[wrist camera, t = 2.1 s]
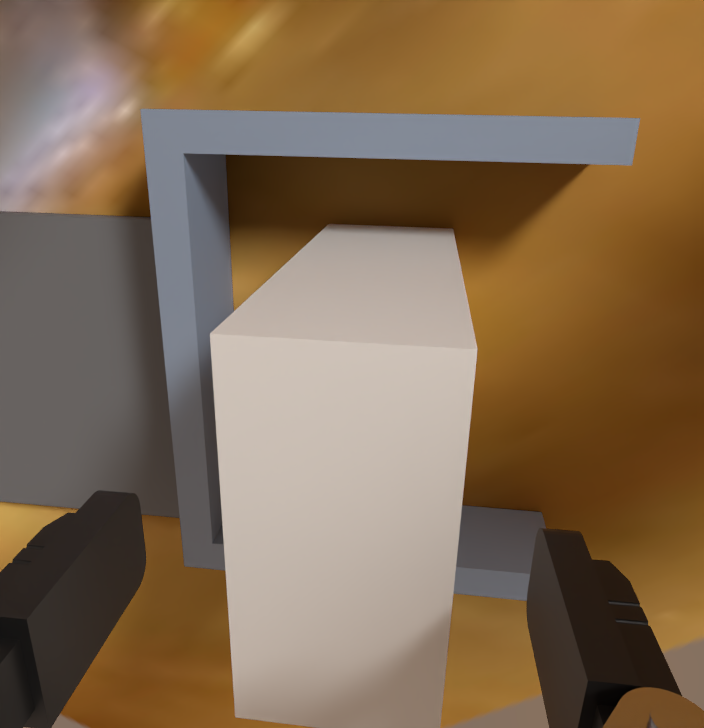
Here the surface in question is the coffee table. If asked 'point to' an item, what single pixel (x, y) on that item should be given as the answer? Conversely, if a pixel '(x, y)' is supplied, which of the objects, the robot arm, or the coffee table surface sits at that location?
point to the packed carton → (345, 477)
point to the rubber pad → (82, 363)
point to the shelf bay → (215, 294)
